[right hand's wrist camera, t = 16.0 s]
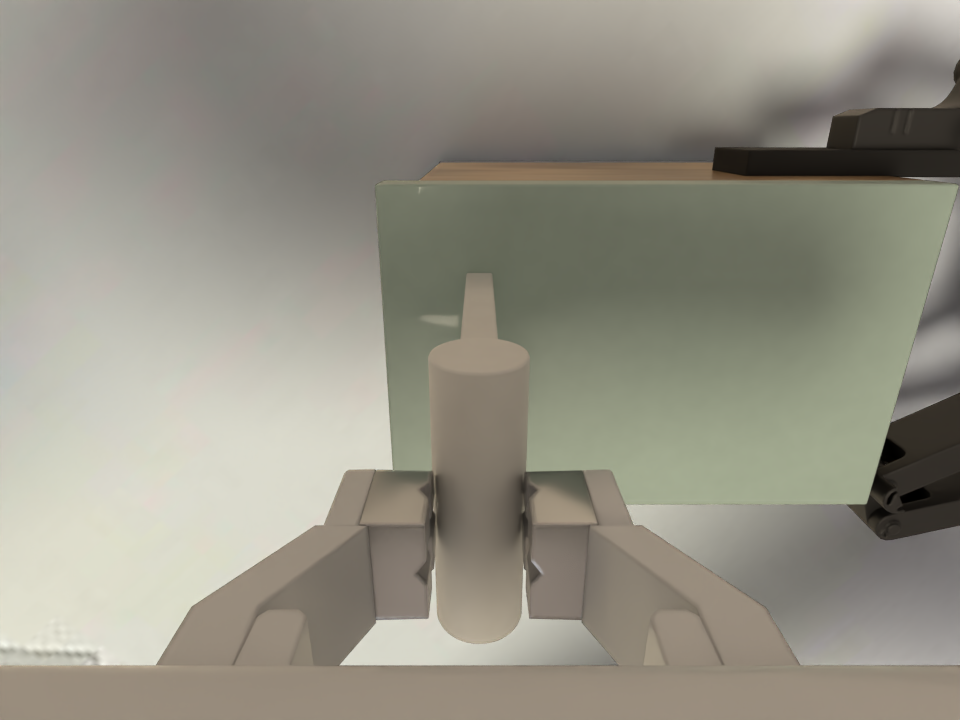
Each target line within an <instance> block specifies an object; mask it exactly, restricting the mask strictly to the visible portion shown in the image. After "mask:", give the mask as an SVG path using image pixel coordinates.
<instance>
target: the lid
mask: <svg viewBox="0 0 960 720" xmlns="http://www.w3.org/2000/svg"><path fill="white" fill-rule="evenodd" d="M958 188H959V185H957V184H954V183H945V182H936V181H928V180H384V181H382V182H380V183H378V184H376V185H375V196H376V211H377V227H378V243H379V258H380V274H381V290H382V305H383V321H384V337H385V352H386V368H387V384H388V399H389V415H390V431H391V446H392V462H393V470H416V471H433V473H434V487H435V495H434V504H433V511H434V513H435V514H436V546H435V568H436V596H437V615H438V619H439V621H440V623H441V625H442V627H443V628H444V629H445V630H446V631H447V632H448V633H449V634H450V635H451V636H453V637H455V638H456V639H458V640H461V641H464V642H467V643H473V644H485V643H491V642H495V641H497V640H500V639H502V638H504V637H506V636H507V635H508V634H510V633H511V632H512V631H513V630H514V628H515V627H516V626H517V624H518V622H519V620H520V617H521V610H522V580H523V551H522V514H523V513H524V511H525V506H524V497H523V482H524V472H532V471H572V470H599V469H609V470H611V471H612V472H613V475H614V477H615V480H616V482H617V485H618V487H619V490H620V492H621V495H622V497H623V500H624V502H625V504H866V503H867V501H868V498H869V494H870V491H871V487H872V484H873V480H874V477H875V474H876V470H877V467H878V463H879V460H880V456H881V453H882V449H883V446H884V443H885V439H886V436H887V432H888V429H889V425H890V422H891V418H892V415H893V412H894V408H895V405H896V401H897V398H898V394H899V391H900V388H901V384H902V381H903V377H904V374H905V370H906V367H907V363H908V360H909V357H910V353H911V350H912V346H913V343H914V339H915V336H916V332H917V329H918V326H919V322H920V319H921V315H922V312H923V308H924V305H925V301H926V298H927V295H928V291H929V288H930V284H931V281H932V277H933V274H934V270H935V267H936V264H937V260H938V257H939V253H940V250H941V246H942V243H943V240H944V236H945V233H946V229H947V226H948V222H949V219H950V215H951V212H952V209H953V205H954V202H955V198H956V195H957V191H958Z"/></svg>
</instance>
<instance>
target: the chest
mask: <svg viewBox="0 0 960 720" xmlns="http://www.w3.org/2000/svg"><path fill="white" fill-rule="evenodd" d="M712 167H713V161H440V162H439V164H438V165H437V166H436V167H435V168H433V169H432V170H431V171H430V172H429V173H427V174H426V175H425V176H424V177H423V178H421V179H420V180H919V179H910V178H902V177H893V176H742V175H737V174H731V173H725V172H720V171H714V170H712Z"/></svg>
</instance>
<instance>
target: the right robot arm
mask: <svg viewBox="0 0 960 720" xmlns="http://www.w3.org/2000/svg"><path fill="white" fill-rule="evenodd" d="M434 495H435V487H434V473H433V471H416V470H377V471H376V470H375V469H365V470H348V471H346V472H345V473H344V476H343V478H342V481H341V483H340V486H339V488H338V491H337V493H336V496H335V498H334V501H333V503H332V506H331V508H330V511H329V513H328V516H327V518H326V521H325V523H324V525H317V526H314V527H312V528H311V529H309V530H308V531H306V532H305V533H303V534H302V535H300V536H299V537H297V538H296V539H294V540H292V541H291V542H289V543H288V544H286V545H285V546H283V547H282V548H280V549H279V550H277V551H276V552H274V553H273V554H271V555H270V556H268V557H267V558H265V559H264V560H262V561H261V562H259V563H257V564H256V565H254V566H253V567H251V568H250V569H248V570H247V571H245V572H244V573H242V574H241V575H239V576H238V577H236V578H235V579H233V580H232V581H230V582H229V583H227V584H226V585H224V586H222V587H221V588H219V589H218V590H216V591H215V592H213V593H212V594H210V595H209V596H207V597H206V598H204V599H203V600H201V601H200V602H198V603H197V604H195V605H194V606H192V607H191V609H190V610H189V612H188V613H187V615H186V617H185V618H184V620H183V622H182V623H181V625H180V627H179V628H178V630H177V632H176V633H175V635H174V636H173V638H172V640H171V641H170V643H169V645H168V646H167V648H166V650H165V651H164V653H163V654H162V656H161V658H160V659H159V661H158V663H157V664H156V665H0V720H960V665H800V664H799V662H798V660H797V659H796V657H795V655H794V654H793V652H792V650H791V649H790V647H789V645H788V644H787V642H786V640H785V639H784V637H783V635H782V634H781V632H780V630H779V629H778V627H777V625H776V624H775V622H774V620H773V619H772V617H771V615H770V613H769V612H768V610H767V608H766V607H764V606H763V605H761V604H760V603H758V602H757V601H755V600H754V599H752V598H751V597H749V596H748V595H746V594H745V593H743V592H742V591H740V590H739V589H737V588H736V587H734V586H733V585H731V584H730V583H728V582H727V581H725V580H724V579H722V578H720V577H719V576H717V575H716V574H714V573H713V572H711V571H710V570H708V569H707V568H705V567H704V566H702V565H701V564H699V563H698V562H696V561H695V560H693V559H692V558H690V557H689V556H687V555H686V554H684V553H683V552H681V551H680V550H678V549H677V548H675V547H674V546H672V545H671V544H669V543H668V542H666V541H665V540H663V539H662V538H660V537H659V536H657V535H656V534H654V533H653V532H651V531H650V530H648V529H647V528H645V527H644V526H641V525H633V522H632V520H631V517H630V515H629V512H628V510H627V507H626V505H625V502H624V500H623V497H622V495H621V492H620V490H619V487H618V485H617V482H616V480H615V477H614V475H613V472H612V471H611V470H609V469H599V470H572V471H532V472H524V482H523V497H524V506H525V511H524V513H523V514H522V551H523V564H524V569H525V570H526V594H527V603H528V612H529V619H565V620H582V623H583V625H584V626H585V627H586V628H587V629H588V630H589V631H590V633H591V634H592V635H593V636H594V637H595V638H596V640H597V641H598V642H599V643H600V644H601V645H602V647H603V648H604V649H605V650H606V651H607V652H608V654H609V655H610V656H611V657H612V658H613V659H614V661H615V662H616V663H617V664H618V665H555V666H339V665H340V664H341V662H342V661H343V660H344V659H345V658H346V657H347V656H348V654H349V653H350V652H351V651H352V650H353V649H354V647H355V646H356V645H357V644H358V643H359V642H360V641H361V639H362V638H363V637H364V636H365V635H366V634H367V633H368V631H369V630H370V629H371V628H372V627H373V626H374V624H375V623H376V620H392V619H427V618H428V617H429V609H430V600H431V591H432V575H431V571H432V570H433V569H434V562H435V546H436V514H435V513H434V512H433V504H434Z"/></svg>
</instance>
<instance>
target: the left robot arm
mask: <svg viewBox="0 0 960 720" xmlns="http://www.w3.org/2000/svg"><path fill="white" fill-rule="evenodd" d="M954 81H955V83H956V84H955V86H954V88H953V89H952V91H951V92H950V94H949V95H948V97H947V98H946V99H945V100H944V101H943V102H942V103H940V104H939V105H937V106H935V107H933V108H872V109H853V110H848V111H845V112H843V113H840V114H838V115H835V116H833V118H832V123H831V128H830V133H829V138H828V143H827V147H826V148H763V147H715V153H714V160H713V167H712V170H714V171H720V172H725V173H731V174H737V175H742V176H893V177H960V60H959V61H958V63H957V64H956V67H955V70H954ZM885 464H886V465H885ZM847 505H848V506H849V507H850V508H851V510H852V511H853V512H854V513H855V514H856V515H857V516H858V517H859V518H860V519H861V520H862V521H863V522H864V523H865V524H866V525H867V526H868V527H869V528H870V529H871V530H872V531H873V532H874V533H875V534H876V535H877V536H878V537H879V538H880V539H883V540H894V539H898V538H903V537H908V536H912V535H917V534H922V533H926V532H931V531H936V530H941V529H945V528H950V527H955V526H959V525H960V393H958V394H956V395H954V396H951V397H949V398H947V399H945V400H942V401H940V402H938V403H935V404H933V405H931V406H929V407H926V408H924V409H922V410H919V411H917V412H915V413H913V414H910V415H908V416H906V417H903V418H901V419H899V420H897V421H894V422H892V423H890V425H889V429H888V432H887V436H886V439H885V443H884V446H883V449H882V453H881V456H880V460H879V463H878V467H877V470H876V474H875V477H874V480H873V484H872V487H871V491H870V494H869V498H868V501H867V503H866V504H847Z"/></svg>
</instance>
